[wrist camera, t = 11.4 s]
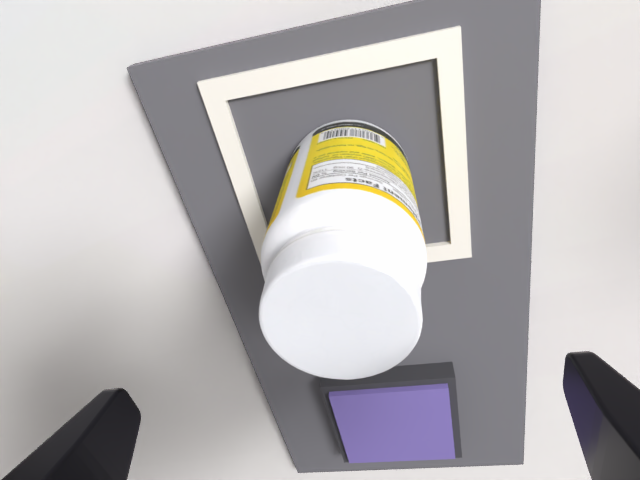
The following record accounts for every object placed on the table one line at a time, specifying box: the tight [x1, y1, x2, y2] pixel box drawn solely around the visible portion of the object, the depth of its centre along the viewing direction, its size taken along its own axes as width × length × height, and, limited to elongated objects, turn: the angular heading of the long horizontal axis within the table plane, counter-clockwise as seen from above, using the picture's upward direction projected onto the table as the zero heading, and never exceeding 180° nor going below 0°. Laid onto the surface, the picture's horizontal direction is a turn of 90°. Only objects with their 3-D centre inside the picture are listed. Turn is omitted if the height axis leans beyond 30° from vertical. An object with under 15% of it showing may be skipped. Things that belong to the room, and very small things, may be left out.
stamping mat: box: [127, 0, 541, 473], centre depth 22 cm, size 14×26×2 cm, turn 12°
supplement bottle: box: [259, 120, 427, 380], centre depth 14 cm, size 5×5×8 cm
